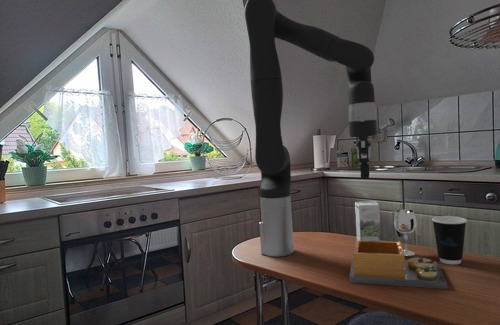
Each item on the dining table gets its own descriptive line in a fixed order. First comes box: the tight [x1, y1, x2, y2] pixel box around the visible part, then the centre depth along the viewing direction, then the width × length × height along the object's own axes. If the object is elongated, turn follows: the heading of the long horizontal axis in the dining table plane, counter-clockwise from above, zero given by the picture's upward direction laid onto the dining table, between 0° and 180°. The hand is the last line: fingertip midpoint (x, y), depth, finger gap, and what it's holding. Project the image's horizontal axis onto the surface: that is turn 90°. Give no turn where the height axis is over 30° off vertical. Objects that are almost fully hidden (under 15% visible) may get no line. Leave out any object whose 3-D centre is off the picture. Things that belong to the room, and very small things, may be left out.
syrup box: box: [354, 200, 382, 241], centre depth 102 cm, size 6×6×14 cm
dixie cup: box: [431, 215, 468, 265], centre depth 91 cm, size 8×8×11 cm
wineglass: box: [393, 208, 417, 257], centre depth 99 cm, size 6×6×12 cm
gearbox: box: [348, 240, 448, 290], centre depth 85 cm, size 20×13×6 cm, turn 71°
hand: (365, 176), depth 102 cm, fingers open, 8 cm apart
